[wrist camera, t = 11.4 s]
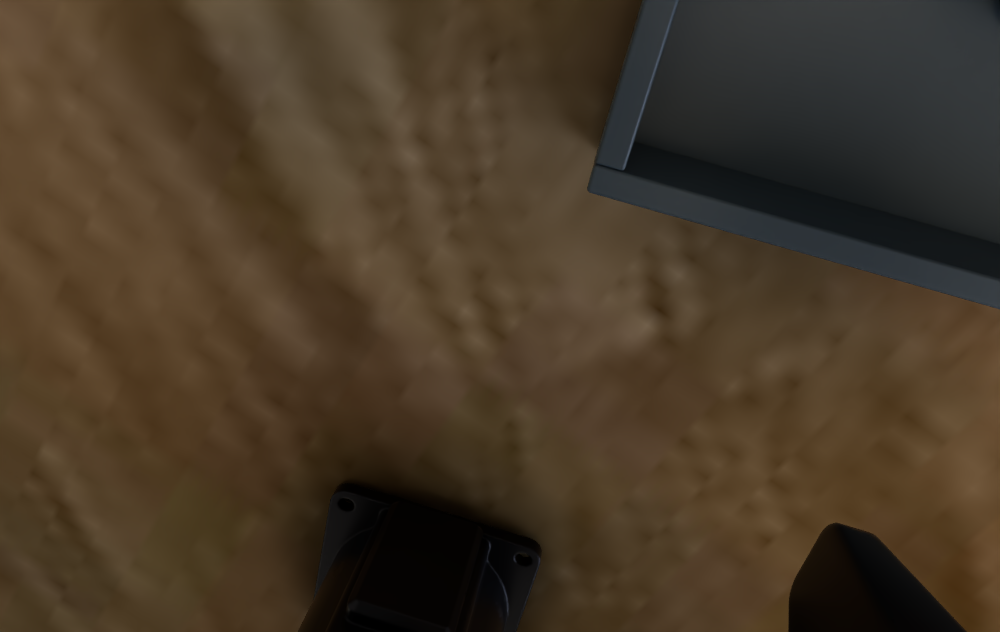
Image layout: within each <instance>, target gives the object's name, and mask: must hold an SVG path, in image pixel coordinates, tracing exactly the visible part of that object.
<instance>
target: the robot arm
mask: <svg viewBox="0 0 1000 632" xmlns="http://www.w3.org/2000/svg"><path fill="white" fill-rule="evenodd" d="M344 498H347V499H349V500H351V501H352V502H353V503H349V502H347V501H346V500H345V499H344ZM520 553H525V554H527V555H529V557H524V556H522V555H520ZM541 555H542V550H541V547H540V545H539V544H538V543H537V542H536V541H534V540H532V539H530V538H527V537H524V536H520V535H517V534H514V533H511V532H508V531H504V530H501V529H498V528H495V527H491V526H488V525H485V524H482V523H478V522H475V521H472V520H469V519H465V518H462V517H459V516H456V515H452V514H449V513H446V512H443V511H439V510H436V509H433V508H430V507H426V506H423V505H420V504H417V503H413V502H410V501H407V500H404V499H400V498H397V497H394V496H391V495H387V494H384V493H381V492H378V491H374V490H371V489H368V488H365V487H361V486H358V485H355V484H350V483H345V484H341V485H339V486H338V487H337V488H336V490H335V492H334V494H333V495H332V498H331V500H330V505H329V511H328V517H327V523H326V529H325V535H324V541H323V547H322V553H321V559H320V565H319V570H318V576H317V582H316V588H315V594H314V600H313V602H312V604H311V606H310V608H309V610H308V612H307V614H306V616H305V618H304V620H303V622H302V624H301V626H300V628H299V630H298V632H516V630H517V628H518V625H519V622H520V619H521V616H522V613H523V611H524V608H525V605H526V602H527V599H528V596H529V594H530V591H531V588H532V585H533V582H534V579H535V577H536V574H537V571H538V568H539V565H540V560H541ZM789 632H966V631H965V629H964V628H963V627H962V626H961V625H960V624H959V623H958V622H957V621H956V620H955V619H954V618H953V617H952V616H951V615H950V614H949V613H948V611H947V610H946V609H945V608H944V607H943V606H942V605H941V604H940V603H939V602H938V601H937V600H936V599H935V598H934V597H933V596H932V595H931V593H930V592H929V591H928V590H927V589H926V588H925V587H924V586H923V585H922V584H921V583H920V582H919V581H918V580H917V579H916V578H915V576H914V575H913V574H912V573H911V572H910V571H909V570H908V569H907V568H906V567H905V566H904V565H903V564H902V563H901V562H900V561H899V560H898V558H897V557H896V556H895V555H894V554H893V553H892V552H891V551H890V550H889V549H888V548H887V547H886V546H885V545H884V544H883V543H882V542H881V540H880V539H879V538H878V537H876V536H875V535H874V534H872V533H870V532H867V531H863V530H860V529H857V528H853V527H850V526H847V525H843V524H840V523H833V524H830V525H828V526H827V527H826V528H825V529H824V530H823V531H822V532H821V534H820V536H819V537H818V539H817V541H816V543H815V544H814V546H813V548H812V550H811V551H810V553H809V555H808V557H807V558H806V560H805V562H804V564H803V565H802V567H801V569H800V571H799V572H798V574H797V576H796V578H795V580H794V582H793V585H792V588H791V592H790V597H789Z"/></svg>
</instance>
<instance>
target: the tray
mask: <svg viewBox="0 0 1000 632" xmlns="http://www.w3.org/2000/svg"><path fill="white" fill-rule="evenodd" d="M587 190H588V191H589V192H590V193H593V194H597V195H600V196H604V197H607V198H611V199H614V200H618V201H621V202H625V203H628V204H632V205H636V206H639V207H643V208H646V209H650V210H653V211H657V212H660V213H664V214H667V215H671V216H674V217H678V218H681V219H685V220H688V221H692V222H695V223H699V224H702V225H706V226H709V227H713V228H716V229H720V230H723V231H727V232H730V233H734V234H737V235H741V236H744V237H748V238H751V239H755V240H758V241H762V242H766V243H769V244H773V245H776V246H780V247H783V248H787V249H790V250H794V251H797V252H801V253H804V254H808V255H811V256H815V257H818V258H822V259H825V260H829V261H832V262H836V263H839V264H843V265H846V266H850V267H853V268H857V269H860V270H864V271H867V272H871V273H874V274H878V275H881V276H885V277H888V278H892V279H895V280H899V281H903V282H906V283H910V284H913V285H917V286H920V287H924V288H927V289H931V290H934V291H938V292H941V293H945V294H948V295H952V296H955V297H959V298H962V299H966V300H969V301H973V302H976V303H980V304H983V305H987V306H990V307H994V308H997V309H1000V0H642V2H641V6H640V9H639V12H638V16H637V19H636V22H635V26H634V29H633V32H632V36H631V39H630V43H629V46H628V49H627V53H626V56H625V59H624V63H623V66H622V69H621V73H620V76H619V79H618V83H617V86H616V90H615V93H614V96H613V100H612V103H611V106H610V110H609V113H608V116H607V120H606V123H605V126H604V130H603V133H602V136H601V140H600V143H599V147H598V150H597V154H596V157H595V161H594V165H593V169H592V172H591V176H590V180H589V183H588V187H587Z"/></svg>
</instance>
